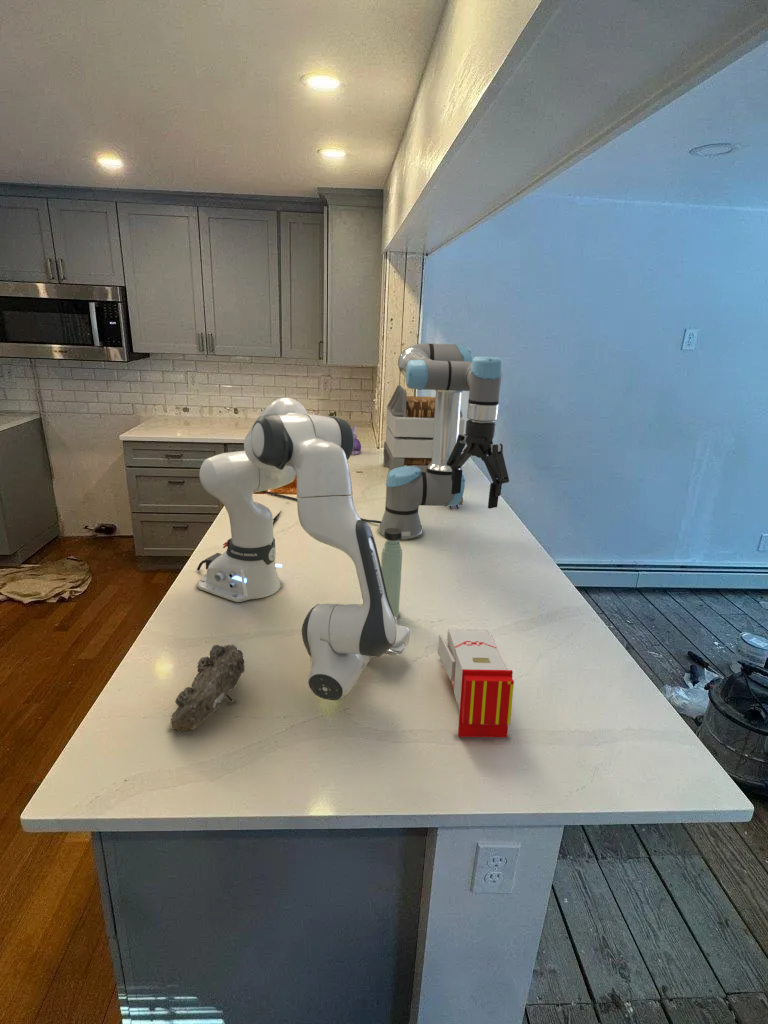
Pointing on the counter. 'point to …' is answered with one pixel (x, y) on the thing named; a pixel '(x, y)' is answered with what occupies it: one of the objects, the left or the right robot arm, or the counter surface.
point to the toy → (478, 682)
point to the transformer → (410, 430)
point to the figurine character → (458, 504)
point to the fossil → (208, 687)
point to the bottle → (392, 572)
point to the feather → (275, 518)
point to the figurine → (356, 443)
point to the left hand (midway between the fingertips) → (374, 615)
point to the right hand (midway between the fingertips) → (473, 500)
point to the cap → (392, 534)
